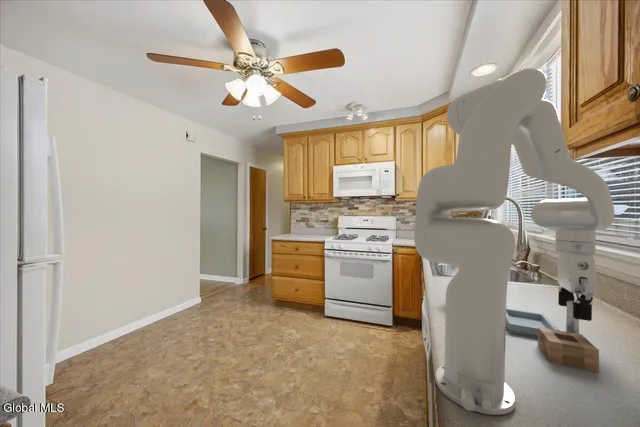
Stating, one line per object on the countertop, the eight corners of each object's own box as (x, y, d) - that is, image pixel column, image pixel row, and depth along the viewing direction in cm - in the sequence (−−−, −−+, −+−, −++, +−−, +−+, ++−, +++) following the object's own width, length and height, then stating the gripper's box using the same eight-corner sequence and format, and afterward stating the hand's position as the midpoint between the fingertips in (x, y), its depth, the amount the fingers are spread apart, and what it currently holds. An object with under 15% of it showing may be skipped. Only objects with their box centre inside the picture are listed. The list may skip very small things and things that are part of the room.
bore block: (598, 372, 54) (599, 350, 54) (548, 361, 57) (549, 341, 57) (580, 353, 61) (581, 334, 61) (537, 345, 64) (538, 327, 64)
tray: (561, 342, 66) (561, 332, 66) (509, 332, 71) (509, 323, 71) (543, 322, 79) (544, 314, 79) (500, 315, 84) (500, 307, 84)
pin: (580, 343, 66) (581, 304, 66) (568, 341, 67) (568, 302, 67) (576, 339, 68) (577, 301, 68) (564, 337, 69) (565, 300, 69)
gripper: (613, 253, 58) (612, 328, 58) (579, 244, 74) (578, 304, 74) (569, 251, 62) (568, 322, 62) (545, 242, 77) (544, 299, 77)
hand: (573, 312), depth 68 cm, fingers open, 9 cm apart
